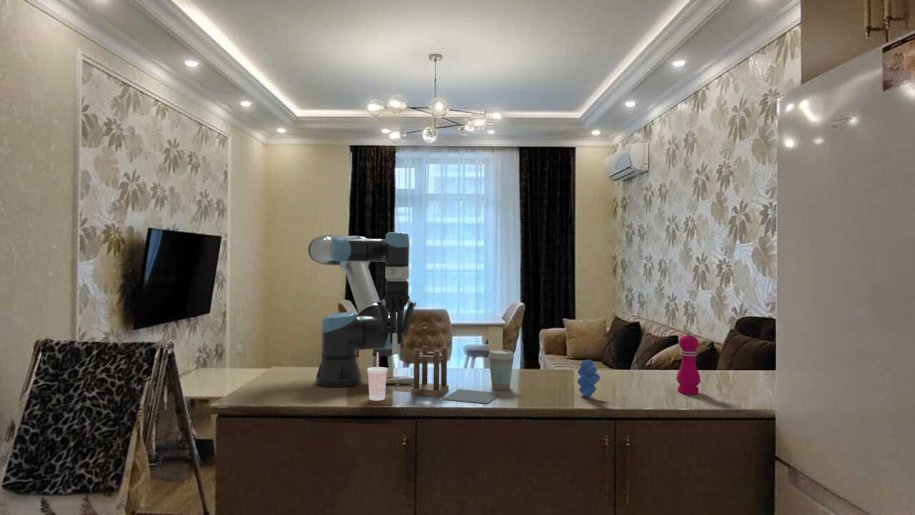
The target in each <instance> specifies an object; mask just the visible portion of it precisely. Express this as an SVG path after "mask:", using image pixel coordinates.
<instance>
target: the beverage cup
mask: <svg viewBox="0 0 915 515" xmlns="http://www.w3.org/2000/svg"><path fill="white" fill-rule="evenodd" d="M388 369H389V368H388V367H383V366H379V351H377V352H376V366H372V367H368V368H367V369H366V370H367V371H366V372H367V376H368V379H367V380H368V400H371V401H383V400H385V399H386V388H387V387H386V386H387V385H386V384H387V373H388V371H389V370H388Z"/></svg>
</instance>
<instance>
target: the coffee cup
mask: <svg viewBox="0 0 915 515" xmlns="http://www.w3.org/2000/svg"><path fill="white" fill-rule="evenodd" d="M487 358H488V360H489V361H488V362H489V368H490V371H489V372H490V379H491V388H492V389H493V390H497V391H506V390H509V389H510V388H511V382H512V381H511V380H512V375H513V374H512V372H513V365H514V359H515V355H514V351H512V350H508V349H493V350H490V351H489V354H488V357H487Z"/></svg>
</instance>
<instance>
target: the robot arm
mask: <svg viewBox="0 0 915 515" xmlns="http://www.w3.org/2000/svg"><path fill="white" fill-rule="evenodd" d="M409 239H410V236H409V234H408V233H407V232H400V231H395V232H394V231H393V232H392V231H389V232H387V233H386V234H385V238H366V237H365V236H360V235H359V236H358V235H331V234H329V235H328V234H327V235H320V236H316V237H315V238H313V239H312V240H311V241H310V242H309V244H308V248H307V251H308V252H307V253H308V256H309V257H310V259H311V260H312V261H314V262H315V263H318V264H321V265H325V266H339V268H340V270H341V272H342V273H344V274H345V275H346V278H347V281H348V284H349V286H350V287H349V288H350V290H351V292H352V296H353V300H354V302H355V305H356V308H357V312H358V313H357V312H356V311H355V312H354V311H347V312H345V311H344V312H338V313H333V314H329V315H326V316H325V317H323V319H322V322H321V329H320V330H321V331H320V332H321V361H320V363H319V366H318V370H317V373H316V376H315V384H316V385H318V386H320V387H325V388H326V387H328V388H344V387H346V388H347V387H352V386H353V387H354V386H358V385H360V384H362V381H363V380H362V373H361V370H360V366H359V363H358V357H357V356H358V355H357V352H358V351H365V350H379V349H380V350H385V349H390V348H392V349H391V350H392V352H391V354H392V355H399V354H401V344H403V342H404V340H403V338H404V333H406V332H409V329H410V325H411V320H412V316H413V312H414V309H415V308H416V306H417V302H416V301H413V300H411V299H410V295H409V288H410V287H409V286H410V284H409V281H408V280H409V278H410V277H409V276H410V274H409V273H410V270H409V268H410V267H409V266H410V262H409V261H410V259H409V258H410V257H409V256H410V240H409ZM371 262H380V263H382V262H383V263H385V268H384V269H385V271H384V273H385V274H384V275H385V276H384V278H385V282H384V292H385V294H384V297H383V299H382V300H380V297H379V294H378V292H377V289H376V286H375V283H374V280H373V278H372V277H373V276H372V275H371V271H370V269H369V265H370V263H371ZM387 306H388V308H387ZM406 306H407V308H406V311H405V307H406ZM404 312H405V313H404ZM404 314H405V315H404Z"/></svg>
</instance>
